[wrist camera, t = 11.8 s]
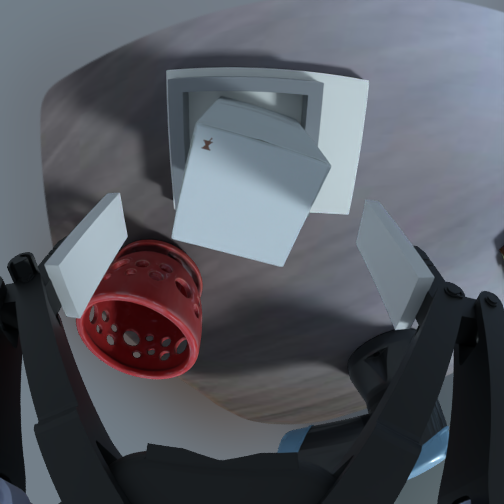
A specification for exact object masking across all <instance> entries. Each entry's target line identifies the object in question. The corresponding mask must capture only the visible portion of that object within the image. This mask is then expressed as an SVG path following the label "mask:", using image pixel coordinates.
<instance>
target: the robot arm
mask: <svg viewBox="0 0 504 504" xmlns="http://www.w3.org/2000/svg"><path fill="white" fill-rule="evenodd" d="M127 237H128V236H127V230H126V225H125V220H124V214H123V209H122V203H121V196H120V193H107V194H106V196H105V197H104V198H103V199H102V200H101V201H100V202H99V203H98V204H97V205H96V206H95V207H94V208H93V209H92V210H91V211H90V212H89V213H88V214H87V215H86V217H85V218H84V219H83V220H82V221H81V222H80V223H79V224H78V225H77V226H76V228H75V229H74V230H73V231H72V232H71V233H70V234H69V235H68V236H66V237H65V238H63V239H62V240H60V241H59V242H58V243H57V244H56V245H55V246H54V248H53V250H51V251H50V252H49V255H47V256H46V257H45V258H44V260H43V261H42V262H41V263H40V264H39V266H37V263H36V261H35V258H34V256H33V254H32V253H30V252H26V253H22V254H19V255H17V256H15V257H14V258H13V259H11V260H10V262H9V263H8V266H7V268H8V271H9V273H10V275H11V277H12V280H13V282H14V283H12V284H6V285H5V283H4V281H3V279H2V278H1V277H0V504H32V503H31V502H30V501H29V498H28V497H27V495H26V483H25V482H26V480H25V479H26V478H25V466H24V457H23V447H22V434H21V406H20V392H21V364H22V354H23V360H24V365H25V370H26V374H27V379H28V383H29V388H30V392H31V396H32V399H33V403H34V407H35V410H36V414H37V417H38V421H39V422H38V424H35V425H34V432H35V435H36V438H37V442H38V445H39V448H40V451H41V453H42V456H43V459H44V461H45V464H46V467H47V469H48V472H49V474H50V477H51V479H52V481H53V484H54V486H55V488H56V490H57V493H58V495H59V497H60V499H61V501H62V502H60V503H59V504H394V502H395V500H396V499H397V497H398V495H399V494H400V492H401V490H402V488H403V487H404V485H405V483H406V481H407V480H408V479H411V478H413V477H415V476H417V475H419V474H421V473H423V472H425V471H427V470H428V469H430V468H432V467H433V466H435V465H437V464H438V463H440V462H441V461H443V460H444V459H445V458H446V459H445V464H444V470H443V475H442V480H441V485H440V490H439V495H438V503H437V504H504V308H503V305H502V303H501V301H500V299H499V298H498V297H497V296H496V295H495V294H493V293H490V292H487V291H483V292H481V293H480V294H479V296H478V298H477V300H476V299H472V298H467V297H465V294H464V292H463V290H462V289H461V288H460V287H458V286H457V285H455V284H453V283H450V282H445V280H444V279H443V277H442V276H441V274H440V273H439V272H438V270H437V269H436V267H435V266H434V264H433V263H432V262H431V261H430V259H429V257H428V256H427V255H426V253H425V252H424V251H422V250H421V249H420V248H419V247H417V246H413V245H412V244H411V243H410V241H409V240H408V238H407V237H406V236H405V234H404V233H403V232H402V230H401V229H400V228H399V226H398V225H397V224H396V222H395V221H394V220H393V219H392V217H391V216H390V215H389V213H388V212H387V211H386V210H385V208H384V207H383V206H382V205H381V203H380V202H379V201H375V200H365V205H364V210H363V214H362V219H361V224H360V228H359V232H358V237H357V241H356V245H357V247H358V249H359V251H360V253H361V255H362V257H363V259H364V261H365V263H366V265H367V267H368V270H369V272H370V274H371V276H372V278H373V280H374V282H375V285H376V287H377V289H378V291H379V294H380V296H381V298H382V300H383V303H384V305H385V307H386V309H387V312H388V314H389V317H390V319H391V321H392V324H393V326H394V329H395V331H391V332H387V333H385V334H382V335H380V336H377V337H375V338H373V339H371V340H370V341H368V342H366V343H365V344H364V345H362V346H361V347H360V348H359V349H357V350H356V351H355V352H354V354H353V355H352V356H351V358H350V360H349V362H348V371H349V376H350V379H351V381H352V383H353V384H354V386H355V387H356V389H357V390H358V392H359V393H360V395H361V396H362V398H363V399H364V401H365V402H366V405H367V409H368V413H369V414H366V415H362V416H358V417H354V418H349V419H345V420H341V421H336V422H331V423H326V424H321V425H316V426H314V425H310V426H308V427H306V428H301V429H296V430H292V431H289V432H287V433H286V434H285V435H284V436H283V438H282V440H281V442H280V445H279V448H278V452H277V453H259V454H254V455H249V456H244V457H239V458H234V459H228V460H216V459H213V458H210V457H207V456H204V455H201V454H197V453H195V452H192V451H189V450H186V449H183V448H176V447H169V446H162V445H155V444H149V443H148V445H147V451H144V452H137V453H133V454H129V455H126V456H124V457H122V455H121V454H120V453H119V451H118V450H117V449H116V447H115V446H114V444H113V443H112V441H111V439H110V438H109V436H108V434H107V432H106V430H105V428H104V426H103V424H102V422H101V420H100V418H99V416H98V414H97V412H96V409H95V407H94V406H93V403H92V401H91V399H90V396H89V394H88V392H87V390H86V387H85V385H84V382H83V380H82V377H81V375H80V372H79V370H78V367H77V365H76V362H75V360H74V357H73V354H72V351H71V349H70V346H69V343H68V340H67V337H66V334H65V331H64V328H63V325H62V321H61V318H60V316H59V314H58V312H59V310H60V308H61V307H62V308H63V310H64V312H65V315H66V316H67V317H73V318H81V316H82V314H83V312H84V310H85V308H86V307H87V305H88V303H89V301H90V299H91V297H92V296H93V294H94V292H95V290H96V288H97V287H98V285H99V283H100V281H101V280H102V278H103V276H104V275H105V273H106V271H107V269H108V268H109V266H110V264H111V263H112V261H113V259H114V258H115V256H116V254H117V253H118V251H119V250H120V248H121V246H122V245H123V243H124V242H125V240H126V238H127ZM415 318H416V320H417V322H418V324H419V326H418V328H417V330H413V329H410V328H411V326H412V324H413V322H414V320H415ZM453 349H454V377H453V399H452V411H451V422H450V431H449V432H448V429H449V427H448V426H447V424H446V420H445V417H444V415H443V412H442V409H441V406H440V403H439V400H438V395H439V393H440V390H441V387H442V384H443V381H444V378H445V375H446V372H447V369H448V366H449V363H450V359H451V356H452V352H453Z"/></svg>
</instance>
